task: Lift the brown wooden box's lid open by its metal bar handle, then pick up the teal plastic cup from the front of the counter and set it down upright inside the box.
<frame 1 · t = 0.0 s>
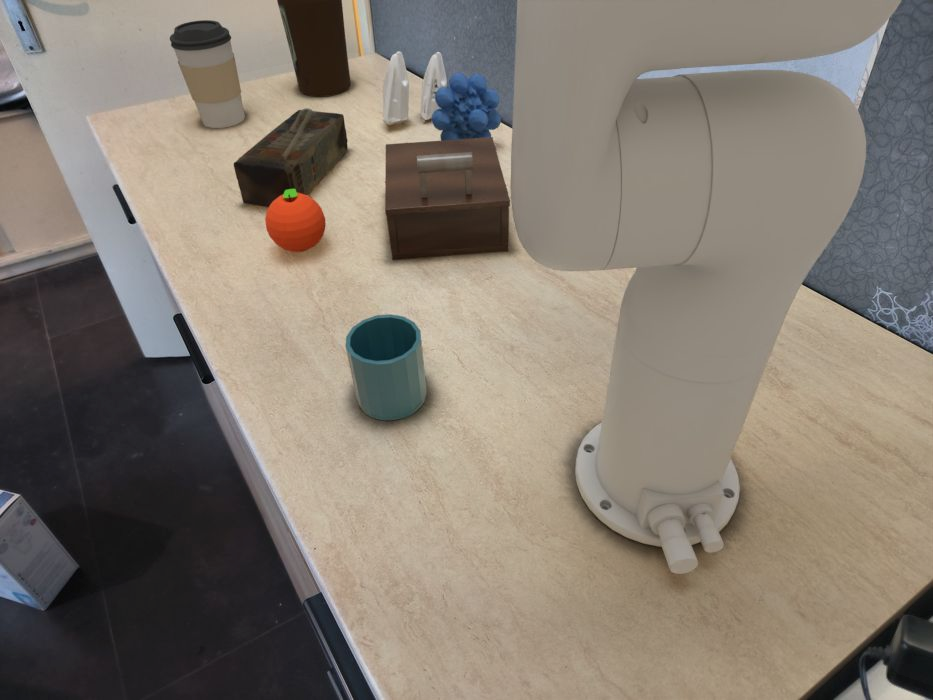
shaker set: (415, 122, 107), on the worktop
coffee cup: (224, 120, 110), on the worktop
lid: (442, 154, 76), point 9 cm above the worktop, hinge at 0.0°
olive oil: (325, 88, 119), on the worktop
cup: (392, 394, 60), on the worktop
brown wooden box: (446, 221, 83), on the worktop
clementine: (302, 246, 80), on the worktop
grapes: (471, 157, 97), on the worktop
beverage carton: (300, 178, 93), on the worktop
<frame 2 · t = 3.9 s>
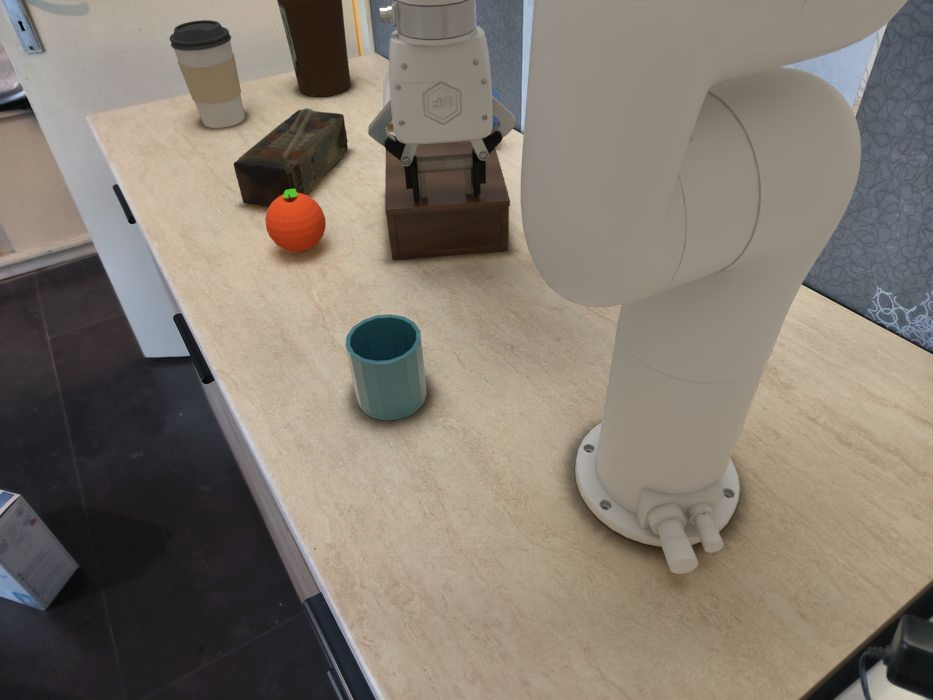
hand: (446, 189, 73), 8 cm above the worktop, tool pointing down, fingers closed on lid, 6 cm apart
lid: (442, 154, 76), point 9 cm above the worktop, hinge at 0.0°, touching gripper
everything else where it was.
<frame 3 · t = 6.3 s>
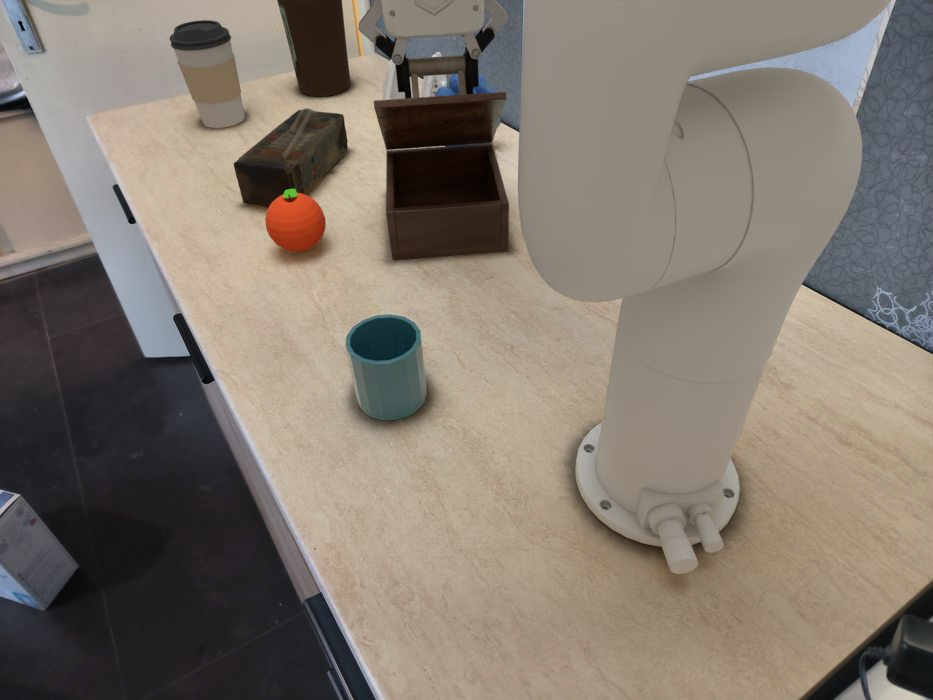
hand: (438, 94, 72), 16 cm above the worktop, tool pointing down, fingers closed on lid, 6 cm apart
lid: (438, 103, 76), point 14 cm above the worktop, hinge at 39.4°, touching gripper
everything else where it was.
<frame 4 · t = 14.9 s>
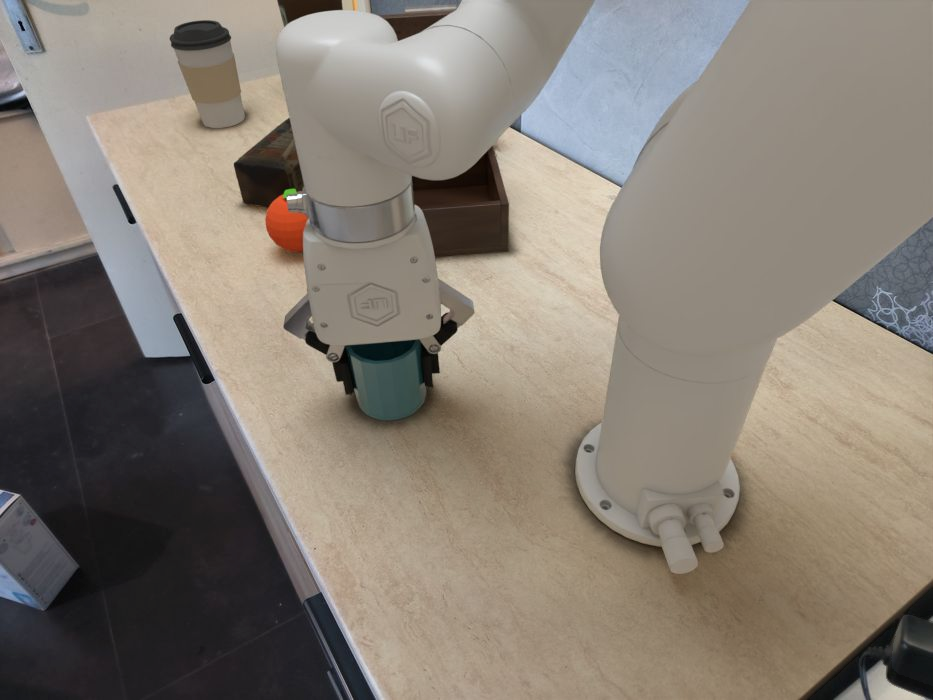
hand: (389, 379, 59), 2 cm above the worktop, tool pointing down, fingers closed on cup, 6 cm apart
lid: (434, 73, 79), point 15 cm above the worktop, hinge at 78.7°
cup: (392, 394, 60), on the worktop, touching gripper
everything else where it was.
when the fingers open (3 cm above the worktop, at t = 24.1 s): cup stays where it is, resting on brown wooden box.
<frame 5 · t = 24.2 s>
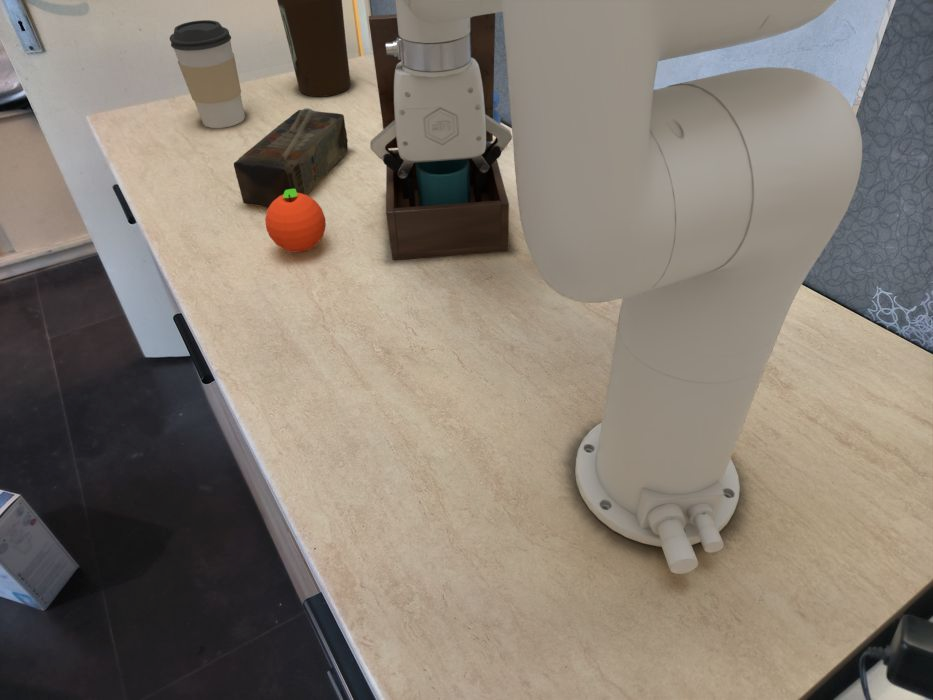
hand: (445, 199, 81), 3 cm above the worktop, tool pointing down, fingers open, 7 cm apart
cup: (445, 214, 82), point 1 cm above the worktop, touching brown wooden box
everything else where it was.
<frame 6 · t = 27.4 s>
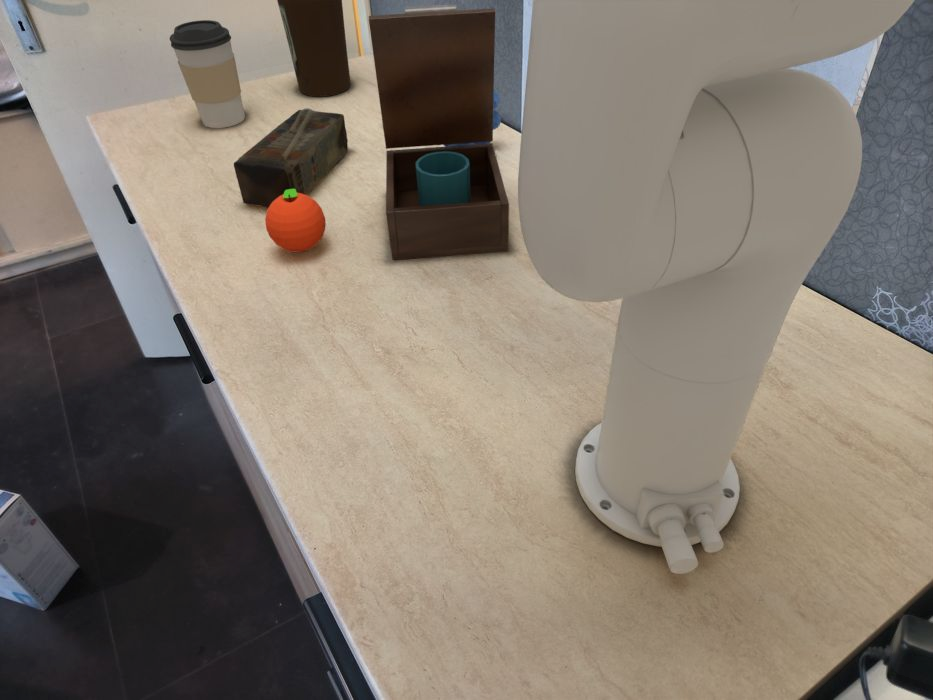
nothing on the worktop moved.
at the end: lid at +79° (first picture: +0°); cup inside the target area in the brown wooden box (0.1 cm from its centre), point 0.9 cm above the brown wooden box's base; cup tilted 0° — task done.
